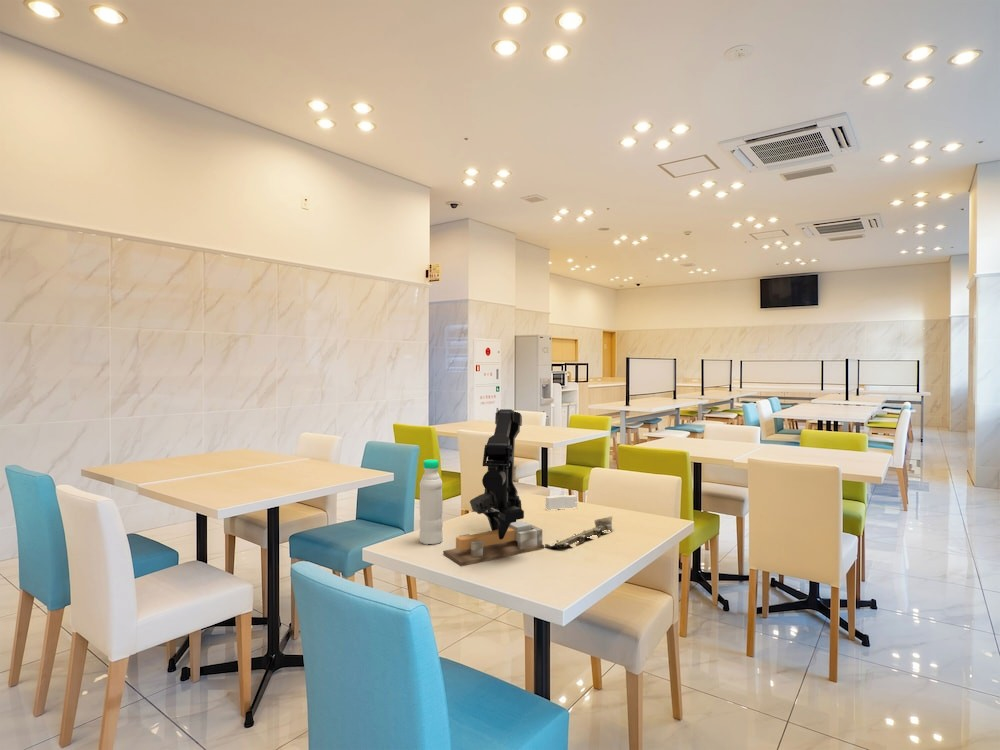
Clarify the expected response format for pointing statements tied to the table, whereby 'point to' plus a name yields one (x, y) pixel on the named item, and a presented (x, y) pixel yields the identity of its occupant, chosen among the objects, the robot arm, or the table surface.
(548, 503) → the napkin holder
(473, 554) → the cable board
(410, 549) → the table surface
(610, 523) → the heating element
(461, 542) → the tan bar grey block
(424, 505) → the water bottle
